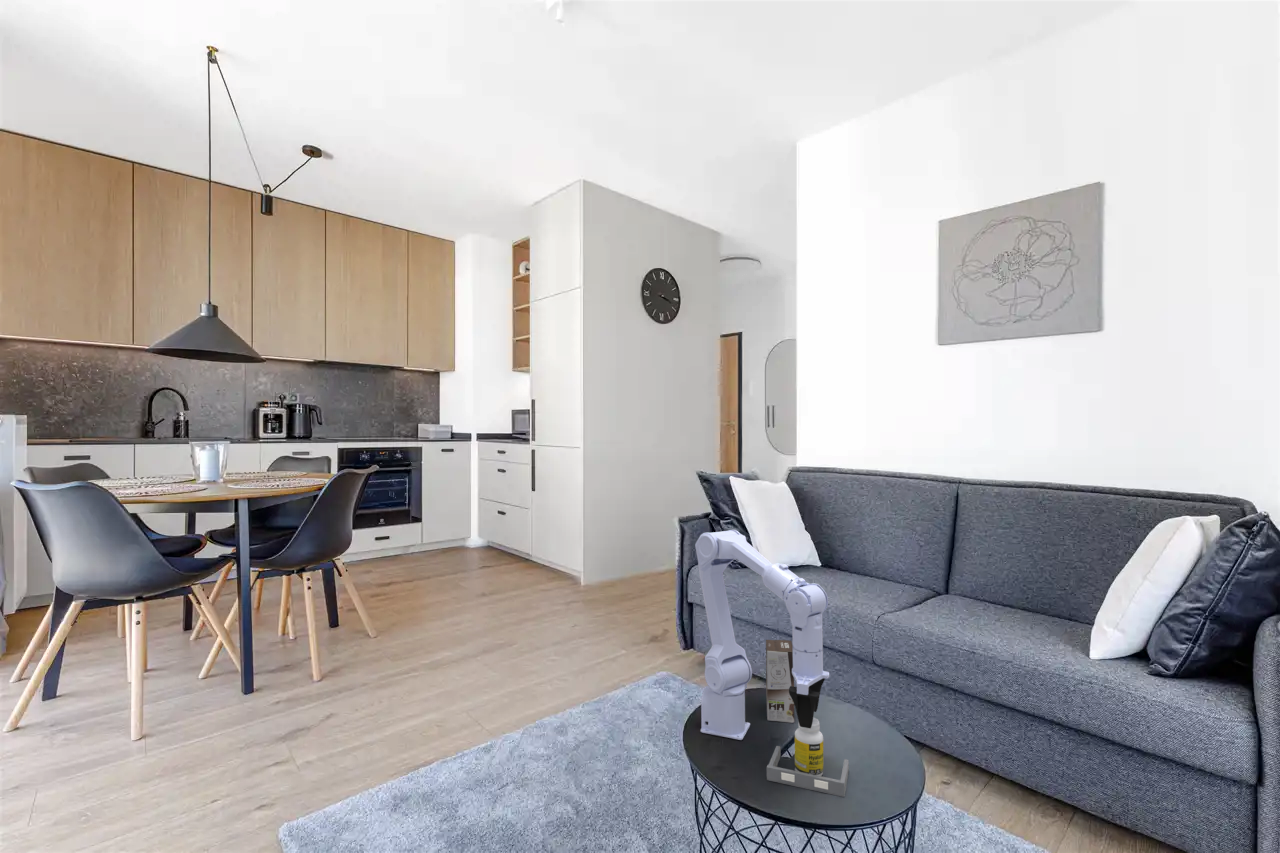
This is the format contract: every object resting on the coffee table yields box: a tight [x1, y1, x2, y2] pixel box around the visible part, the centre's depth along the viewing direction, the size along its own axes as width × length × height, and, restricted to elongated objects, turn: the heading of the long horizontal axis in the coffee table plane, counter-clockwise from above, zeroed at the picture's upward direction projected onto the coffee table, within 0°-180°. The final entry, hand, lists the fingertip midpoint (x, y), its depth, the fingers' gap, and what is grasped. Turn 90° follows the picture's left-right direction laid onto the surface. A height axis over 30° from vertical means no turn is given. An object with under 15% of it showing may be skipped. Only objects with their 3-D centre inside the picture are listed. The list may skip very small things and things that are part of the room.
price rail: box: [766, 745, 850, 798], centre depth 114 cm, size 14×10×2 cm
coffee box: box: [765, 639, 795, 724], centre depth 141 cm, size 9×6×16 cm
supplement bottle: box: [794, 716, 824, 776], centre depth 115 cm, size 5×5×10 cm
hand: (808, 718), depth 116 cm, fingers open, 7 cm apart
